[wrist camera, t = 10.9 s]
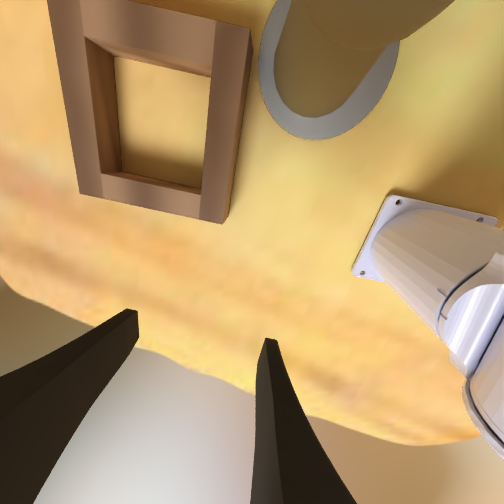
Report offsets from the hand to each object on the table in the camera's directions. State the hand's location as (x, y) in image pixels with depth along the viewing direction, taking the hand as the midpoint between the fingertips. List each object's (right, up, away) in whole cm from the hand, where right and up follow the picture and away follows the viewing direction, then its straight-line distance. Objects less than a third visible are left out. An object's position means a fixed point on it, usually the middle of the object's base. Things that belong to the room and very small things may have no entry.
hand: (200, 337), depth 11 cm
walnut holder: (-4, +15, +5) cm, 16 cm away
